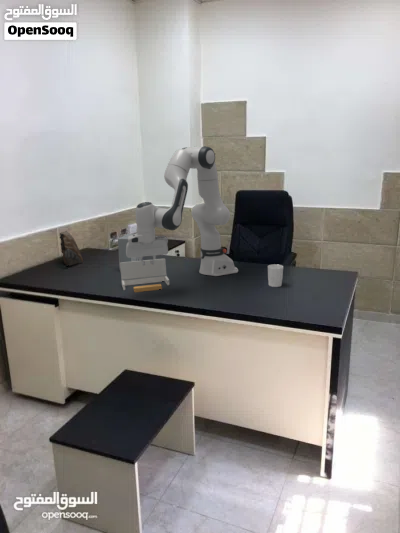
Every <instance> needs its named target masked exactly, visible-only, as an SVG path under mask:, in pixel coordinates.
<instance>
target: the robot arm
mask: <svg viewBox="0 0 400 533" xmlns="http://www.w3.org/2000/svg"><path fill="white" fill-rule="evenodd" d="M215 161H216V153H215V151H214V150H213V148H212V147H210V146H197V145H196V146H190V147H183V148H179V149H176V150H175V151H174V153H173V155H172V156H171V158H170V159H169V161H168V163H167V165H166V168H165V171H164V181H165V182H166V184H167V185H168V186H169V187H170V188H172V189H173V190H174V194H173V199H172V202H171V205H170V207H169V208H165V207H159V206H156V205H154V204H153V203H152V202H149V201H145V202H144V201H143V202H140V203H138V204H137V205H136V206H135V207H136V208H135V223H136V233H132V234H133V235H131V236H128V243H127V245H126V256H127V257H128V258H133V257H139V258H140V261H142V266H143V265H145V261H143V260H144V259H143V258H144V257H152V259H150V260H151V261H150V262H151V265H153V264H154V260H155V259H157V256H164V255H168V253H169V248H168V246H169V245H168V243H169V238H168V237H167V236H166V235H156V229H155V228H159V229H165V230H169V231H175V230H177V229H178V228H179V227H180V226H181V224H182V221H183V212H184V211H183V210H184V206H185V202H186V198H187V194H188V191H189V190H188V189H189V184H188V181H187V178H188V175H189V173H190V169H192V170H193V169H196V171H197V172H196V173H197V175H196V176H197V187H198V195H199V197H200V198H202V199H203V202H204V203H203V202H202V203H198V204H195V205H194V206H193V207H192V208H191V217H192V219H193V220H194V221H195V223H196V225H197V228H198V230H199V232H200V233H199V234H200V246H201V247H200V267H199V270H198V272H199V274H201V275H205V276H206V275H207V276H213V277H219V276H223V275H224V276H225V275H230V274H237V273H238V272H239V269H238V267H236V266H235V264H234V261H233V259H232V258H231V257H229V256H228V255H227V254H226V253H227V249H226V248H223V247H222V243H221V242H222V241H221V239H222V238H221V237H222V236H221V234H220V232H219V230H218V229H217V227H216V226H223V225H227V224H228V223H229V222H230V218H231V212H230V210H229V208H228V207H227V206H226V205H225V203H224V202H223V199H222V197H221V194H220V188H219V175H218V169H217V165H216V162H215Z"/></svg>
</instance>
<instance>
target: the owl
mask: <svg viewBox="0 0 400 533" xmlns="http://www.w3.org/2000/svg"><path fill="white" fill-rule="evenodd" d="M59 239H60V249H61V251H60V252H61V253H62V258H63V265H65V266H68V265H69V266H73V265H76V264H81V263H83V262H84V259H83V257H82V256H83V255H82V253H81V251H80V249H79V246H78V244H77V242H76V240H75V239H74V236H72V234H70V232H69V231H68V230H65V231H60V233H59Z"/></svg>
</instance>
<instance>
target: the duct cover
mask: <svg viewBox="0 0 400 533" xmlns="http://www.w3.org/2000/svg"><path fill="white" fill-rule="evenodd" d="M142 260H143V261H145V265H143V266H142V261H141V260H140V261H131V262H121V263H120V267H119V269H120V268H121V271H120V278H121V281H122V280H131V279H141V278H150V277H160V276H167V266H166V264H167V263H166V258H155V260H154V264H153V265H151V262H150V261H151V260H152V259H145V260H144V259H142Z"/></svg>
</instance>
